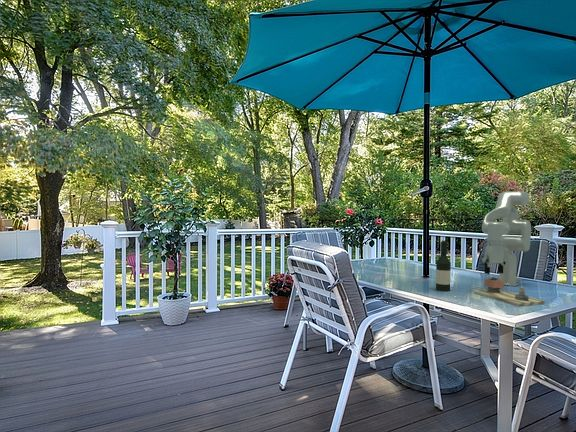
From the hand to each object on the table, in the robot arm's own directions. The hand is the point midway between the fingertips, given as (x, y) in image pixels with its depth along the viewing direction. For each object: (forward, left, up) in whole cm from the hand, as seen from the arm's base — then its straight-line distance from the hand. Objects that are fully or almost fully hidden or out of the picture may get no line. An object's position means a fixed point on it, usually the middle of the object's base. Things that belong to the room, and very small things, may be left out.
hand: (493, 273), depth 212 cm
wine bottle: (+20, -17, -12) cm, 30 cm away
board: (-1, +9, -12) cm, 15 cm away
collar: (-1, 0, -8) cm, 8 cm away
